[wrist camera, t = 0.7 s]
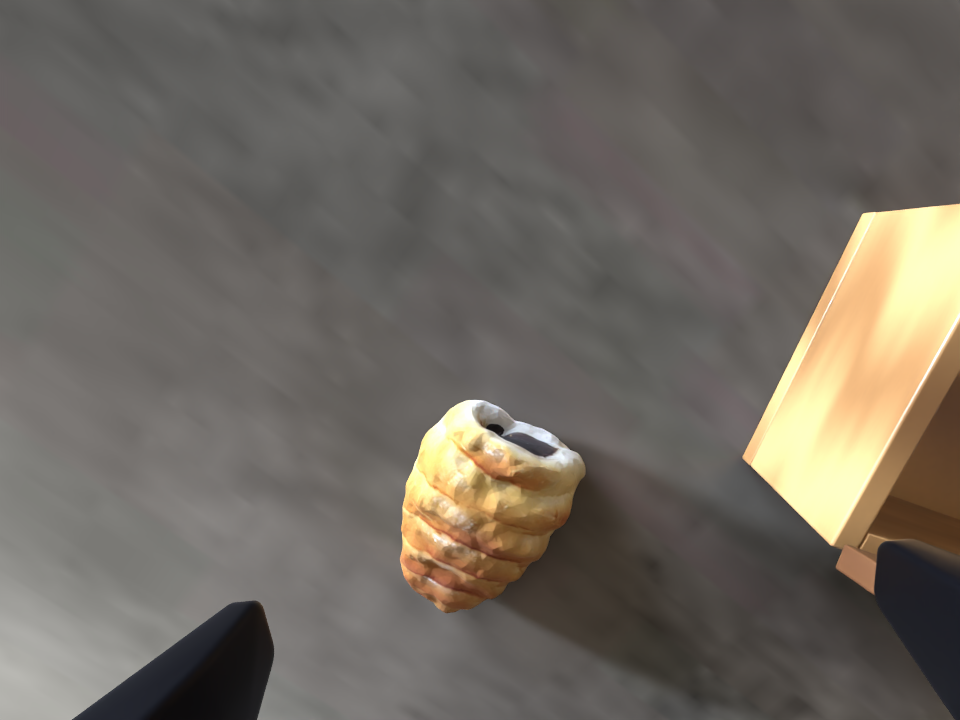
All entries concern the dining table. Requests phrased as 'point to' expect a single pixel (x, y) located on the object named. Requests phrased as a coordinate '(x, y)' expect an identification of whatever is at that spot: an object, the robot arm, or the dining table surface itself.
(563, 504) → the pastry
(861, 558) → the lid
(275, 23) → the dining table surface
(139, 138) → the dining table surface
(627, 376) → the dining table surface
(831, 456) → the caddy
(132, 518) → the dining table surface
